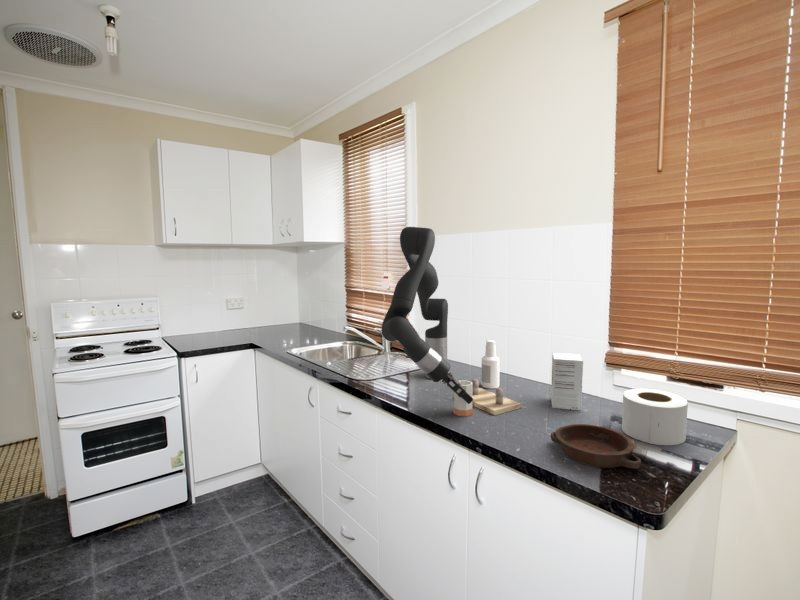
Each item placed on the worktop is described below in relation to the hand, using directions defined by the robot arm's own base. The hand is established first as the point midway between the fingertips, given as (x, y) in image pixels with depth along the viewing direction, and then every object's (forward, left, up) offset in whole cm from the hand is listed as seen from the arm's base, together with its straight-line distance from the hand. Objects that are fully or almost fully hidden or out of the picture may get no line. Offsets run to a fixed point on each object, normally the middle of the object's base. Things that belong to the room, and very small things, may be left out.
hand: (467, 397), depth 134 cm
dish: (+39, +8, -6) cm, 41 cm away
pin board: (-4, +12, -5) cm, 13 cm away
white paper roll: (+40, +34, -6) cm, 53 cm away
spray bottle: (-17, +26, -5) cm, 31 cm away
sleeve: (-1, -1, -5) cm, 5 cm away
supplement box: (+12, +33, -5) cm, 35 cm away
